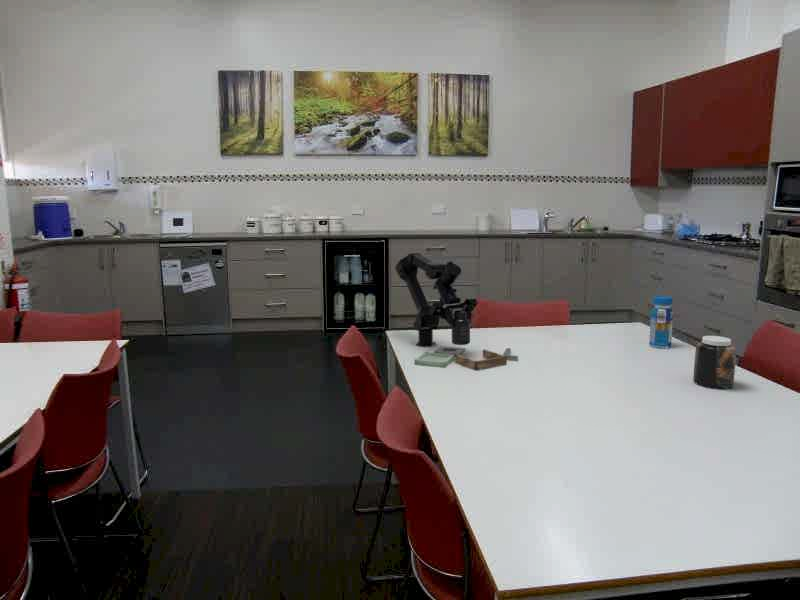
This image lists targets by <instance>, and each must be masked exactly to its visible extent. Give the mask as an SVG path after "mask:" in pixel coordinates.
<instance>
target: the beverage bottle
mask: <svg viewBox="0 0 800 600" xmlns="http://www.w3.org/2000/svg"><path fill="white" fill-rule="evenodd" d="M653 305H654V307H653V308H652V310H651V311H650V314H651V317H650V319H649V320H650V321H649V322H650V325H649V327H650V329H649V342H648V344H649V346H650V347H651V346H653V347H652V348H655V347H662V348H661V349H667V348H666V347H670V348H671V347H672V336H673V325H674V319H673V316H674V311H673V309H672V308H671V307H672V305H673V297H672V296H669V295H655V296H654V298H653Z"/></svg>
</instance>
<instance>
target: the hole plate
mask: <svg viewBox="0 0 800 600" xmlns="http://www.w3.org/2000/svg"><path fill="white" fill-rule="evenodd" d="M466 349H467V348H466V347H458V346H457V347H455V346H444V345H440V346H439V347H438V348H436V349H435V350H434V351H433V352H432V353H441V354H452V355H457V354H458V355H461V356H463V354H464V353H465V352H466Z"/></svg>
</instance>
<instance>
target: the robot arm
mask: <svg viewBox="0 0 800 600" xmlns="http://www.w3.org/2000/svg"><path fill="white" fill-rule="evenodd" d="M419 269H420V270H423V272H425V276H426V277H428V279H429V280H436V281H434V284H433V290H436V291H437V292H438V294H439V296H440V297H439V301H433V303H432V305H429V303H428V300H427V298H426V295H425V294H424V291H423V289H422V286H421V284H420V282H419V279H418V277H417V275H418V271H419ZM395 272H396V273H397V274H398V277H399V279H401V280H403V281H404V282H405V284H406V286H407V288H408V290H409V293H410V296H411V299H412V301H413V302H414V305H415V308H416V310H417V311H416V315H415V320H414V323H413V324H412V325H413V326H412V327H413V330H415V331H416V332H418V342H417V343H415V346H419V347H420V346H422V347H432V346H434V345H435V344H436V341H433V338H434V337H433V332H434V330H438V328H439V323H440V319H441V320H445V322H446V323H448V324H449V325H450V326H451V328H452V327H455V324H454V321H453V318H454V317H453V314H454V310H465V311H467V318H468V319H469V320H470V326H471V325H472V312H473V311H474V310H475V308H476V307H477V306H478V304H479V302H478V300H477V298H475V297H473V298H470V297H469V298H466V299H465V300H464V301H463V302H461V301H462V300H461V297H458V295H457V294H456V293H457V288H454V287H453V284H454V283H456V281H457V280H458V278H459V277H460V275H461V273H462V268H461V267H460V266H458V264H455V263H454V262H453V261H452V260H451V261H447V262H446V263H442V262H434V261H432V260H430V259H428V258H426V257H425V256H423V255H422V253H419V252H412V253H409V254H407V255H406V256H405V257H403V258H401V259H399V261H398V262H397V263H396V265H395Z"/></svg>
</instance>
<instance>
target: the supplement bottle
mask: <svg viewBox="0 0 800 600" xmlns="http://www.w3.org/2000/svg"><path fill="white" fill-rule="evenodd" d="M452 318H453V321H454V324H455V327H452V326H451V343H452V344H453V345H457V346H465V345H469V344H470V343H471V325H470V320H469V319H468V318H467V311H465V310H462V309H456V310H455V311H454V310H453V317H452Z"/></svg>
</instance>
